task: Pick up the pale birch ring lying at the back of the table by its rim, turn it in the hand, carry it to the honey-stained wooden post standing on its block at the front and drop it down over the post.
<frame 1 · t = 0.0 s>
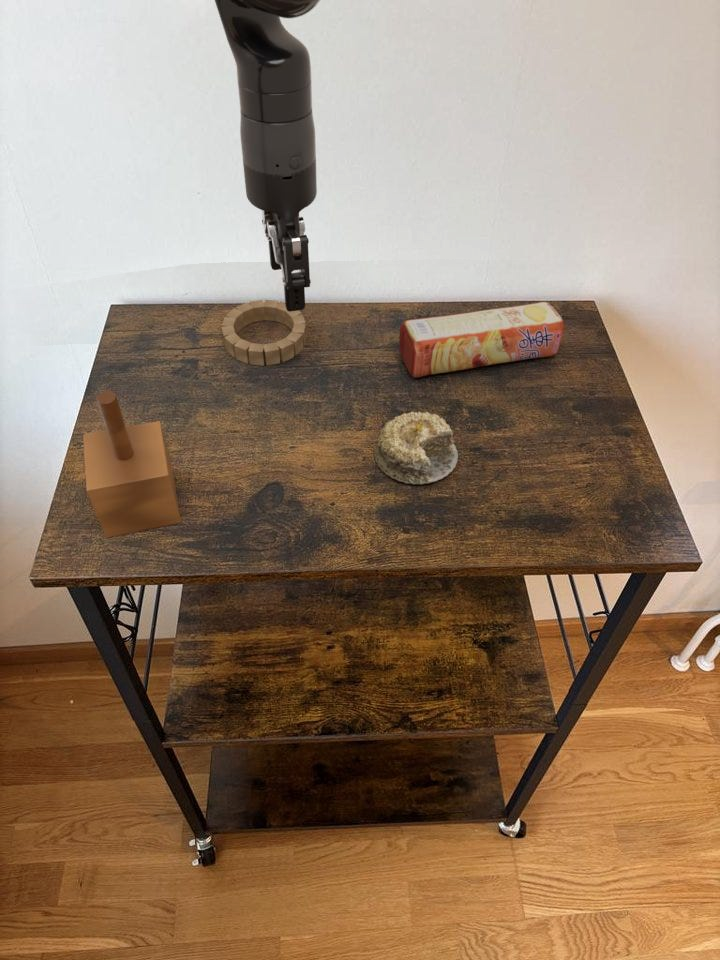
hand: (287, 287, 87), 12 cm above the table, tool pointing down, fingers open, 8 cm apart
ring: (265, 338, 101), on the table
cake: (415, 456, 87), on the table
snack package: (477, 358, 99), on the table
post: (124, 454, 75), on the table
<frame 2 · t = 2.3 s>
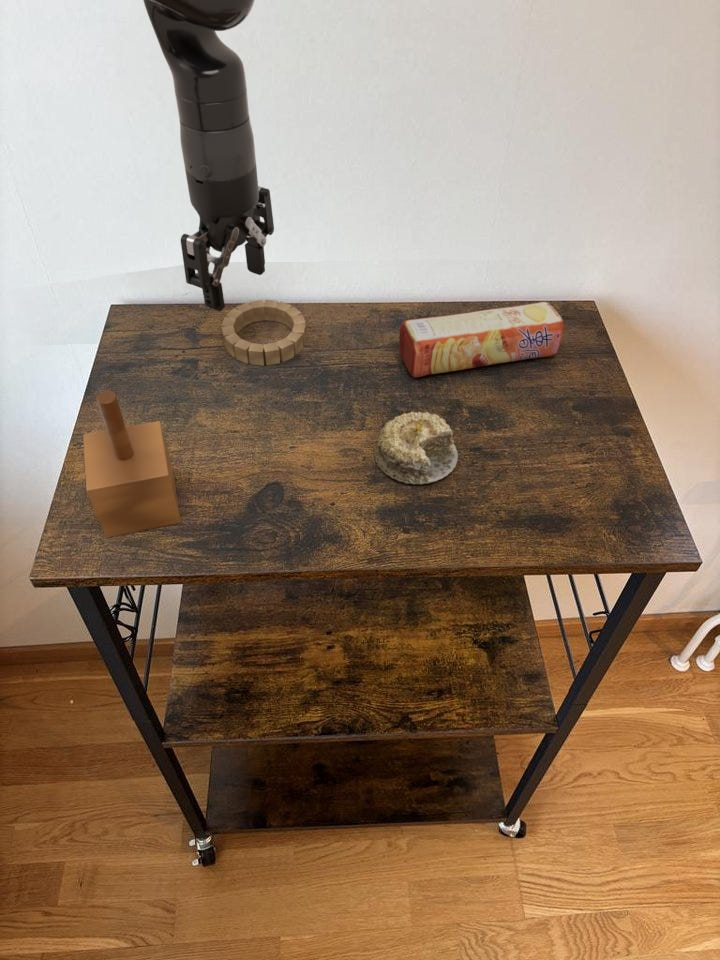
hand: (236, 289, 90), 11 cm above the table, tool pointing down, fingers open, 8 cm apart
nothing on the table moved.
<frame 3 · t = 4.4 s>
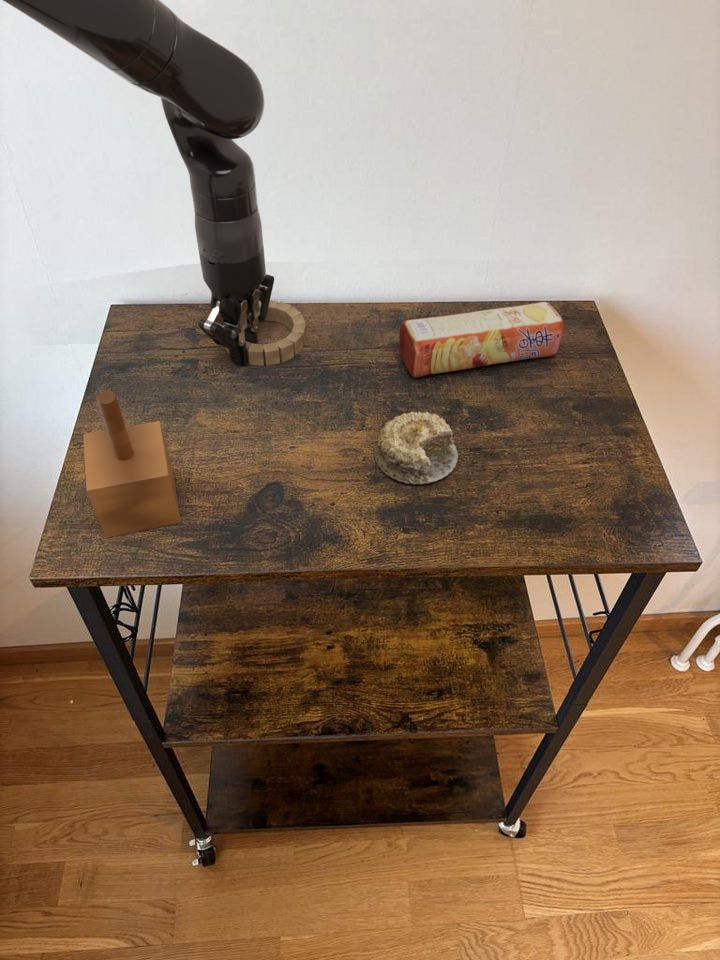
hand: (244, 358, 98), 0 cm above the table, tool pointing down, fingers closed on ring, 1 cm apart
ring: (264, 339, 101), on the table, touching gripper
everything else where it was.
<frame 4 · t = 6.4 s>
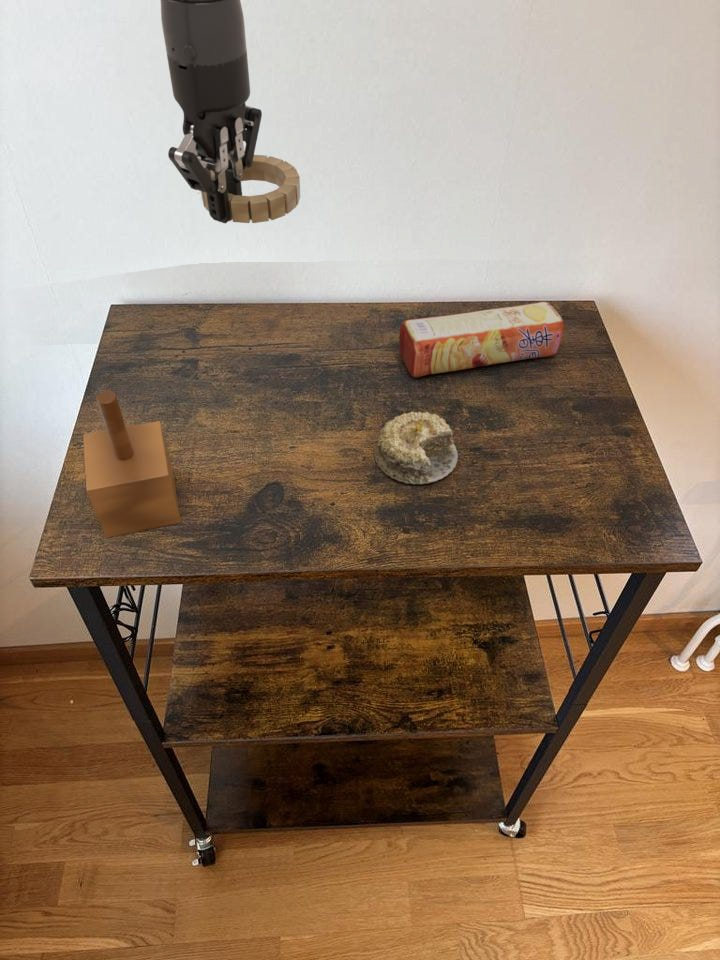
hand: (227, 215, 82), 21 cm above the table, tool pointing down, fingers closed on ring
ring: (251, 197, 85), point 21 cm above the table, touching gripper
everything else where it was.
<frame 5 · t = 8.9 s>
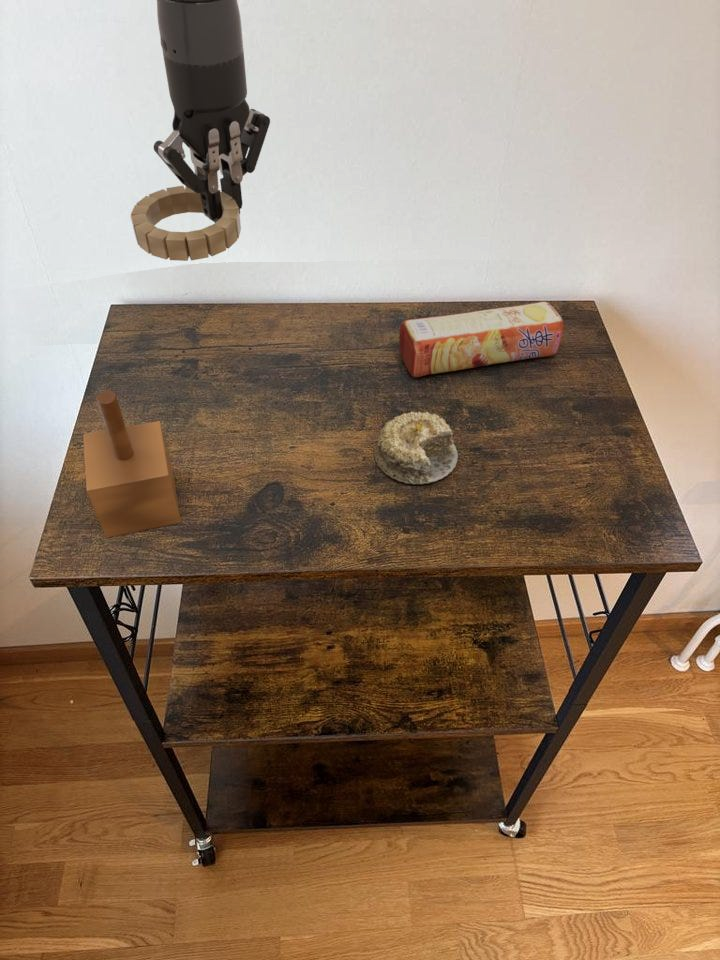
hand: (224, 216, 82), 21 cm above the table, tool pointing down, fingers closed on ring
ring: (188, 231, 80), point 21 cm above the table, touching gripper
everything else where it was.
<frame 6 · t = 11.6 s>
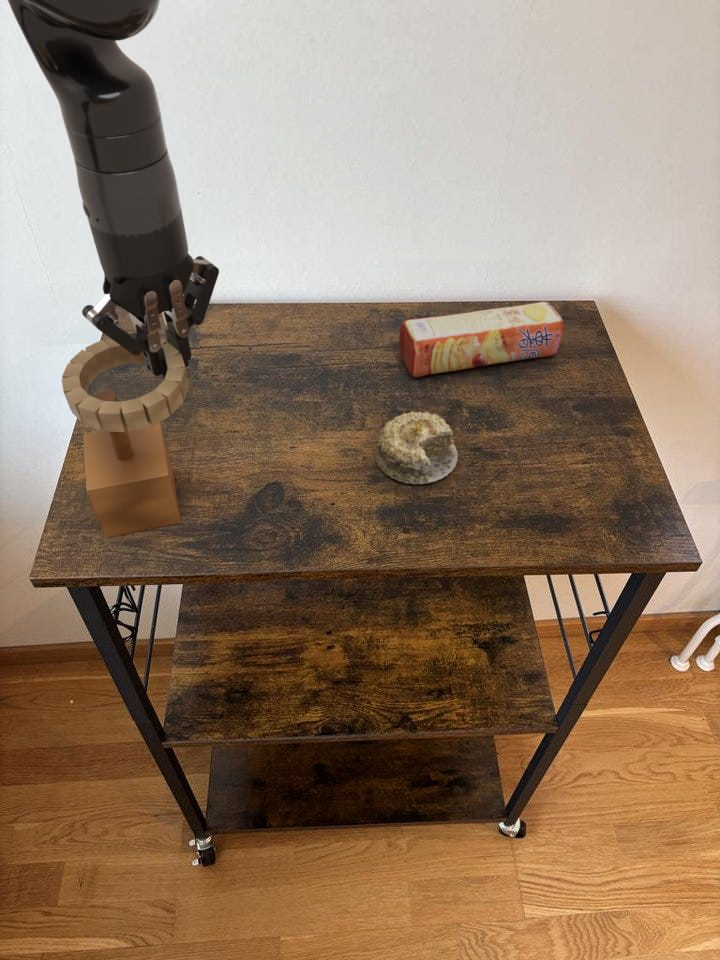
hand: (170, 368, 73), 16 cm above the table, tool pointing down, fingers closed on ring
ring: (129, 390, 71), point 15 cm above the table, touching gripper
everything else where it was.
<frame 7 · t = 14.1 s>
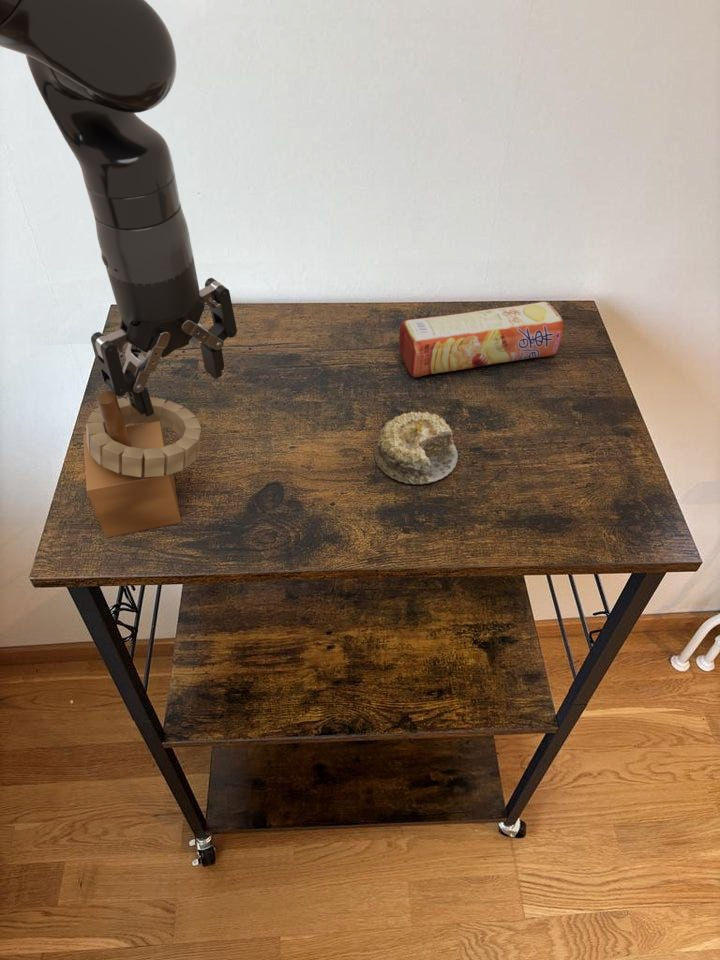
hand: (181, 392, 76), 12 cm above the table, tool pointing down, fingers open, 8 cm apart
ring: (144, 444, 77), point 8 cm above the table, tilted 16°, touching post
everything else where it was.
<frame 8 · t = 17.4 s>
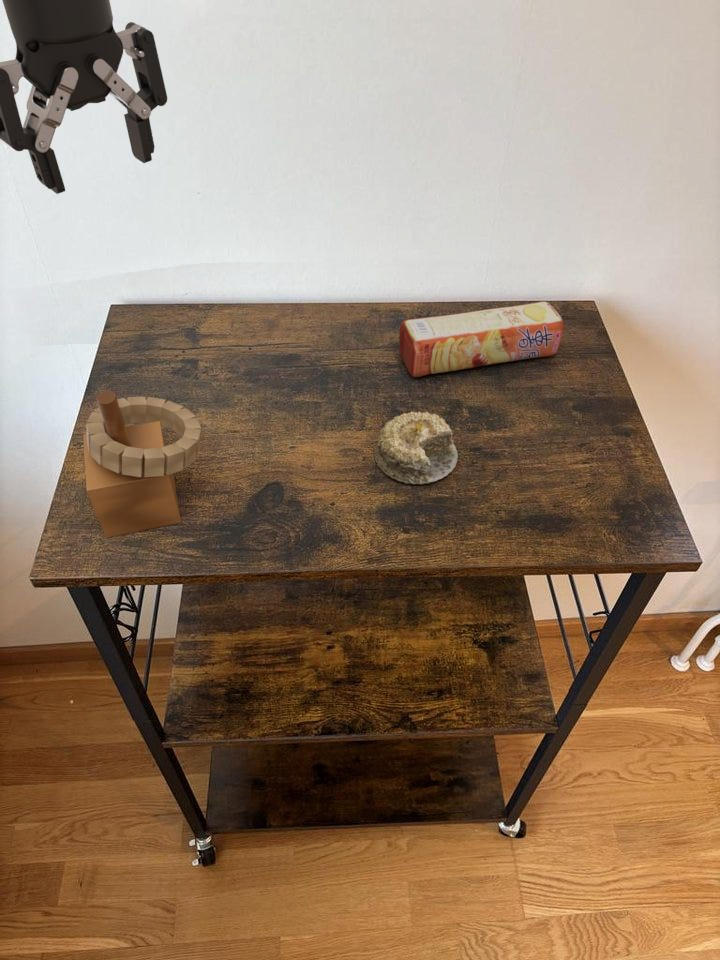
hand: (101, 173, 65), 32 cm above the table, tool pointing down, fingers open, 8 cm apart
nothing on the table moved.
at the end: ring 2.3 cm off-centre on the post, point 0.0 cm above the post's base; the gripper is holding nothing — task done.
